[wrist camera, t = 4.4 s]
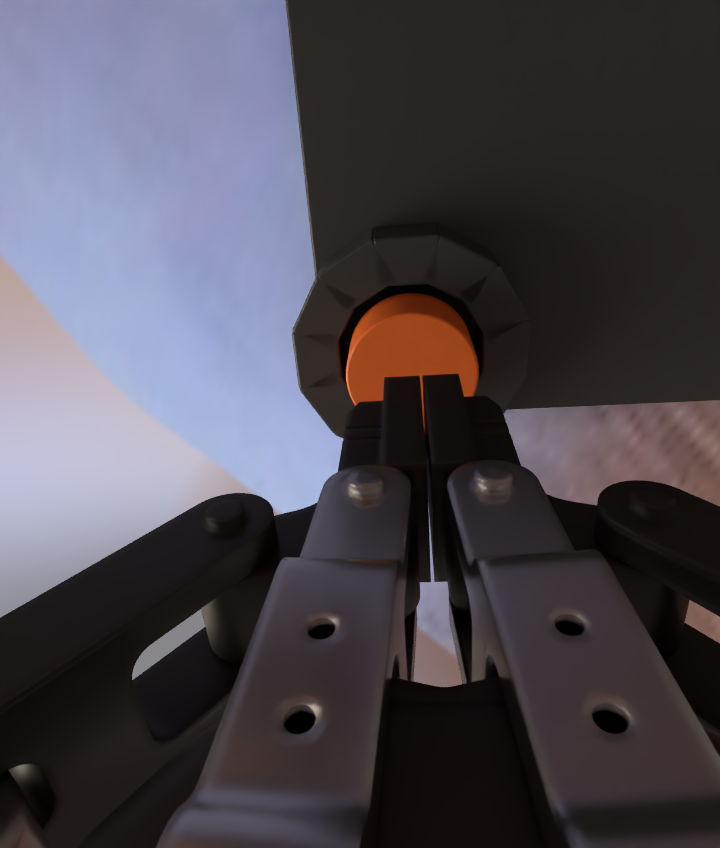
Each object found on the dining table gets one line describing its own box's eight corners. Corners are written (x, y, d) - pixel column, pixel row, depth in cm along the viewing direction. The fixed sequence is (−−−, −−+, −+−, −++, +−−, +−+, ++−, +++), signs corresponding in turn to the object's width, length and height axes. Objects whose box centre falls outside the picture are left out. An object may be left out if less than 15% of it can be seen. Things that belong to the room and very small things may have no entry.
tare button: (355, 408, 17) (350, 438, 16) (345, 296, 16) (340, 316, 14) (470, 402, 17) (478, 433, 15) (471, 288, 15) (480, 308, 14)
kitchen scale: (319, 414, 20) (307, 461, 18) (263, -59, 15) (234, -96, 12) (781, 393, 19) (843, 440, 16) (918, -129, 13) (1048, -186, 11)
